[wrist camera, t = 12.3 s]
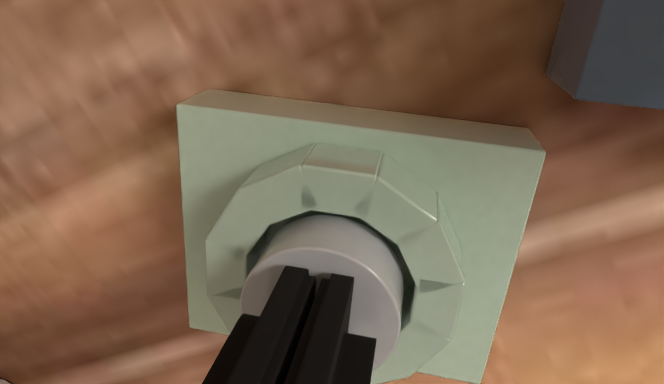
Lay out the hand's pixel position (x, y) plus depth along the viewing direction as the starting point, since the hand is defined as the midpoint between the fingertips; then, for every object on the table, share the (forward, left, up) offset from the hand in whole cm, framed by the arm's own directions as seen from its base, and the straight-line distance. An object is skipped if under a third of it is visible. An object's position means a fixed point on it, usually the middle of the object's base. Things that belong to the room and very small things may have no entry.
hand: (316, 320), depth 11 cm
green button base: (0, 0, -5) cm, 5 cm away
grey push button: (0, 0, -2) cm, 2 cm away
